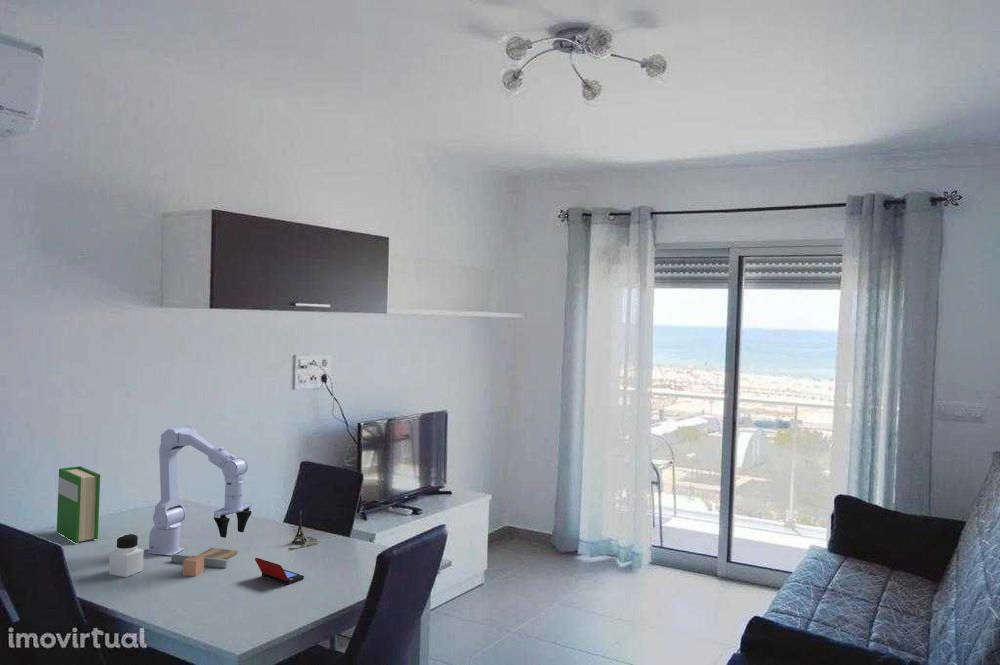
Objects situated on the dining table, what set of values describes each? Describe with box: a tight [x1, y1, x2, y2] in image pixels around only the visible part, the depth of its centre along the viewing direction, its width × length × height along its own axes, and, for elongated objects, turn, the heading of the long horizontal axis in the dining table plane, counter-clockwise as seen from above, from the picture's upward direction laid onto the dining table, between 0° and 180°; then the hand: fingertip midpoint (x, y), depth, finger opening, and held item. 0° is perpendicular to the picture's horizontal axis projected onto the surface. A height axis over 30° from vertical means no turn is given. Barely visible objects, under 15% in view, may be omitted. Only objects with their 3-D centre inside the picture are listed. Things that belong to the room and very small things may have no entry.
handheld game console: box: [254, 557, 305, 586], centre depth 241 cm, size 12×11×7 cm
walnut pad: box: [196, 547, 238, 560], centre depth 259 cm, size 10×10×1 cm
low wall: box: [170, 553, 229, 569], centre depth 251 cm, size 20×1×2 cm, turn 80°
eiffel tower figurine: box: [287, 510, 320, 551], centre depth 278 cm, size 15×10×13 cm
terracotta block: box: [182, 555, 205, 577], centre depth 242 cm, size 4×4×5 cm
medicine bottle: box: [108, 533, 144, 578], centre depth 240 cm, size 7×7×12 cm
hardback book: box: [56, 465, 101, 543], centre depth 273 cm, size 18×7×24 cm, turn 50°
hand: (232, 534), depth 253 cm, fingers open, 7 cm apart
